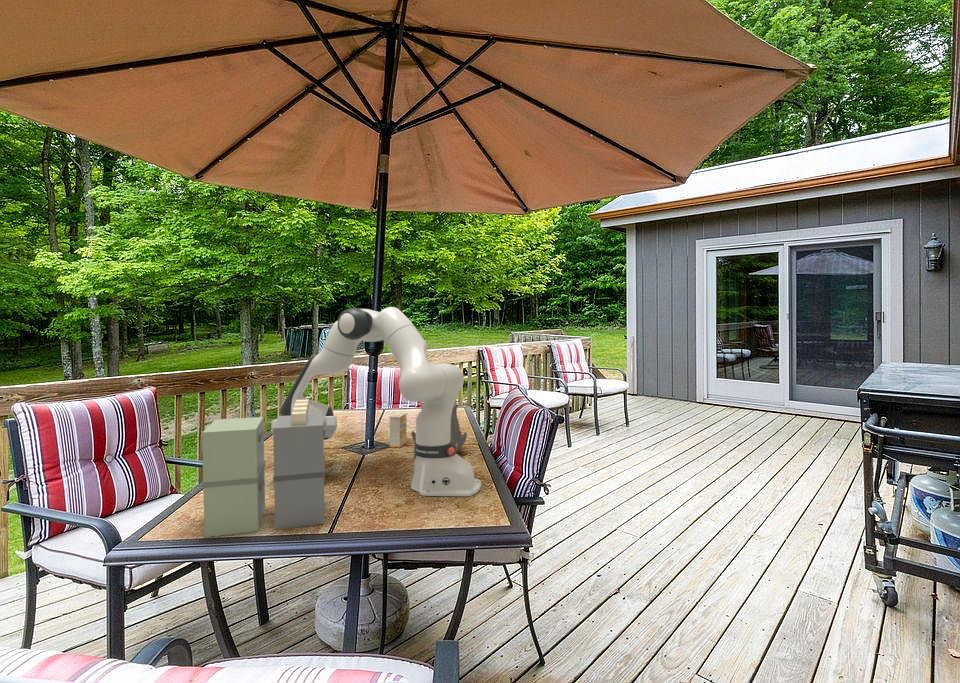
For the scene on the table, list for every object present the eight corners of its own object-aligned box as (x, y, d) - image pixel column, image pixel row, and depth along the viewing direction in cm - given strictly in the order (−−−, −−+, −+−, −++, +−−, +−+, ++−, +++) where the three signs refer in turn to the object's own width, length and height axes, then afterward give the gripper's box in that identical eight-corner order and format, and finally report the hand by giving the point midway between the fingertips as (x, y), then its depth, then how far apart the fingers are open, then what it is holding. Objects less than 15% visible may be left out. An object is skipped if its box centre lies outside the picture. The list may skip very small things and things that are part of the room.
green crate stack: (217, 512, 136) (214, 419, 135) (266, 507, 140) (264, 416, 139) (203, 538, 121) (200, 432, 119) (259, 531, 125) (257, 429, 123)
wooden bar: (296, 409, 150) (296, 399, 149) (308, 409, 151) (308, 399, 151) (291, 425, 128) (291, 413, 128) (306, 424, 129) (305, 413, 129)
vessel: (462, 444, 210) (462, 397, 209) (469, 459, 188) (469, 407, 187) (411, 446, 207) (411, 399, 206) (411, 461, 185) (411, 408, 184)
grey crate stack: (279, 506, 141) (277, 416, 140) (325, 501, 145) (324, 413, 144) (273, 529, 126) (271, 428, 124) (325, 523, 129) (324, 425, 128)
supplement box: (400, 448, 204) (400, 416, 204) (389, 447, 205) (389, 416, 205) (407, 443, 212) (406, 412, 212) (396, 442, 213) (396, 412, 213)
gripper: (272, 424, 166) (268, 410, 154) (336, 420, 172) (336, 406, 160) (272, 442, 163) (267, 429, 151) (336, 438, 169) (337, 425, 157)
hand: (303, 417), depth 156 cm, fingers open, 8 cm apart
